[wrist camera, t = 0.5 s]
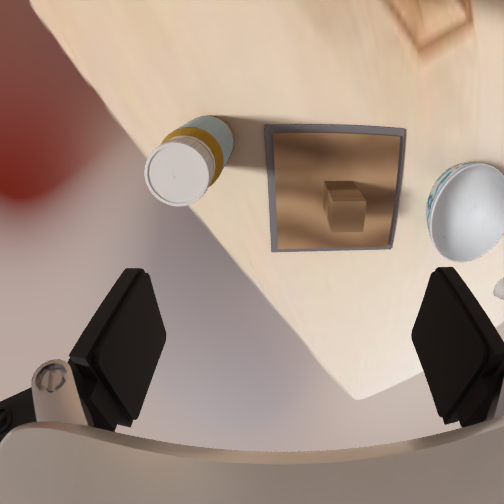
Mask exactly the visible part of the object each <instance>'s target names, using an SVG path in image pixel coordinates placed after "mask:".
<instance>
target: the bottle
mask: <svg viewBox="0 0 504 504" xmlns="http://www.w3.org/2000/svg"><path fill="white" fill-rule="evenodd" d="M233 147H234V136H233V133H232V130H231V129H230V127H229V126H228V124H227V123H226V122H224V121H223V120H221V119H220V118H217V117H214V116H202V117H198V118H195V119H193V120H192V121H190V122H188V123H187V124H185V125H183V126H181V127H180V128H178V129H176V130H175V131H173V132H172V133H171V134H169V135H168V136H167V137H166V138H165V139H164V140H163V142H162V143H161V145H159V146H158V147H157V148H155V150H153V151H152V153H151V154H150V156H149V157H148V159H147V162H146V164H145V171H144V172H145V173H144V174H145V181H146V184H147V186H148V188H149V190H150V191H151V193H152V194H153V195H154V196H155V197H156V198H157V199H159V200H160V201H161V202H163V203H165V204H168V205H172V206H186V205H189V204H192V203H194V202H196V201H197V200H198V199H200V198H201V197H202V196H203V194H204V193H205V192H206V190H207V188H208V187H210V186H211V185H212V184H213V183H214V182H215V181H216V180H217V178H218V177H219V175H220V174H221V172H222V170H223V168H224V166H225V164H226V162H227V160H228V158H229V157H230V155H231V152H232V150H233Z"/></svg>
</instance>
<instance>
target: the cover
mask: <svg viewBox="0 0 504 504" xmlns="http://www.w3.org/2000/svg"><path fill="white" fill-rule="evenodd" d="M273 146H274V166H275V187H276V211H277V238H278V249H306V248H347V247H387V246H388V240H389V234H390V228H391V221H392V214H393V207H394V199H395V191H396V182H397V172H398V162H399V149H400V136H398V135H385V134H368V133H342V132H286V133H273Z"/></svg>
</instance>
